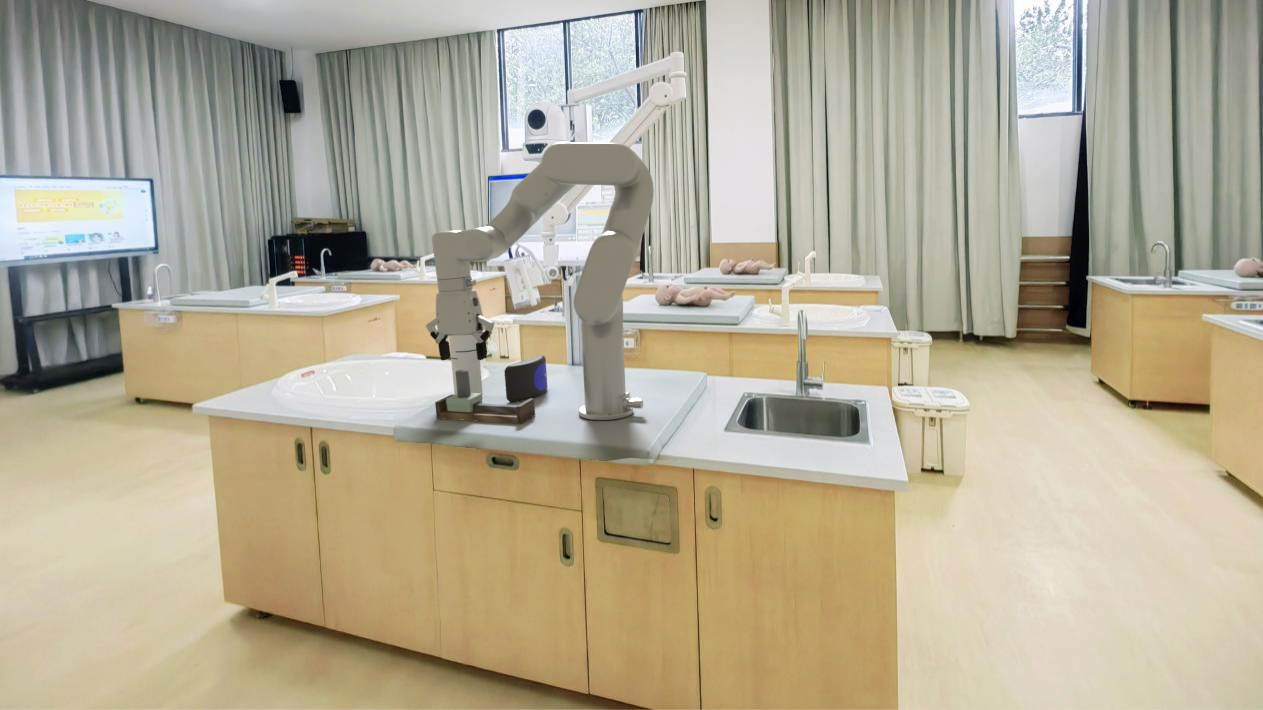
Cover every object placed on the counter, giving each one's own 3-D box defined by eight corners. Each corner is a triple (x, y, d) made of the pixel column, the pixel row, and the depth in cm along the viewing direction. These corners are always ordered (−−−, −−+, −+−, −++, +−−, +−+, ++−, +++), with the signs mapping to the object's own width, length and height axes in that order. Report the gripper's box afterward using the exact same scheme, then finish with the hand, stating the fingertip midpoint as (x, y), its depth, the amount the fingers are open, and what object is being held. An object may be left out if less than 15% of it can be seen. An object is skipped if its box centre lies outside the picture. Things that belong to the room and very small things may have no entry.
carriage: (483, 405, 173) (479, 368, 171) (469, 412, 168) (466, 374, 166) (461, 404, 175) (457, 367, 173) (447, 411, 169) (443, 373, 168)
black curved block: (520, 405, 180) (517, 367, 178) (505, 403, 182) (502, 366, 180) (556, 389, 193) (554, 354, 192) (542, 388, 196) (540, 353, 194)
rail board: (535, 415, 170) (533, 398, 169) (521, 423, 163) (520, 406, 162) (452, 410, 177) (451, 394, 176) (436, 418, 170) (435, 402, 169)
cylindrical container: (476, 400, 185) (467, 302, 180) (450, 400, 186) (441, 303, 181) (487, 393, 192) (479, 299, 187) (461, 393, 193) (453, 299, 188)
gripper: (496, 282, 166) (504, 355, 170) (431, 285, 172) (440, 355, 175) (480, 286, 159) (488, 362, 163) (412, 289, 165) (422, 362, 168)
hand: (463, 359), depth 169 cm, fingers open, 9 cm apart
